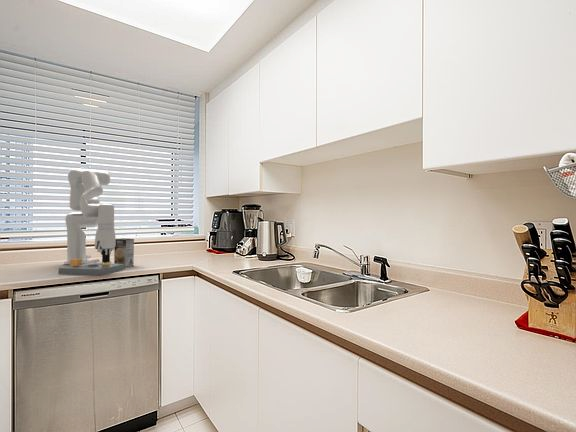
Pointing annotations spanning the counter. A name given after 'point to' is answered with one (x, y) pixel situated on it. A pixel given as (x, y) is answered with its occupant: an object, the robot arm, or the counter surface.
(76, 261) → the orange slider
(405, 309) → the counter surface
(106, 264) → the brass button
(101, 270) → the switch panel
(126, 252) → the coffee box
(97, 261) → the plate
